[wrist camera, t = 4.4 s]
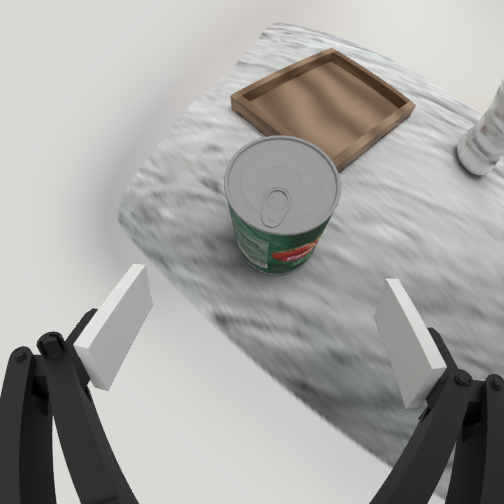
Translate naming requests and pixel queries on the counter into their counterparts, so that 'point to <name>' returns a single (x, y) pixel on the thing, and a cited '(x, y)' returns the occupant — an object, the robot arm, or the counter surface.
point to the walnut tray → (325, 105)
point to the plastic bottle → (484, 139)
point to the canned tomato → (280, 201)
